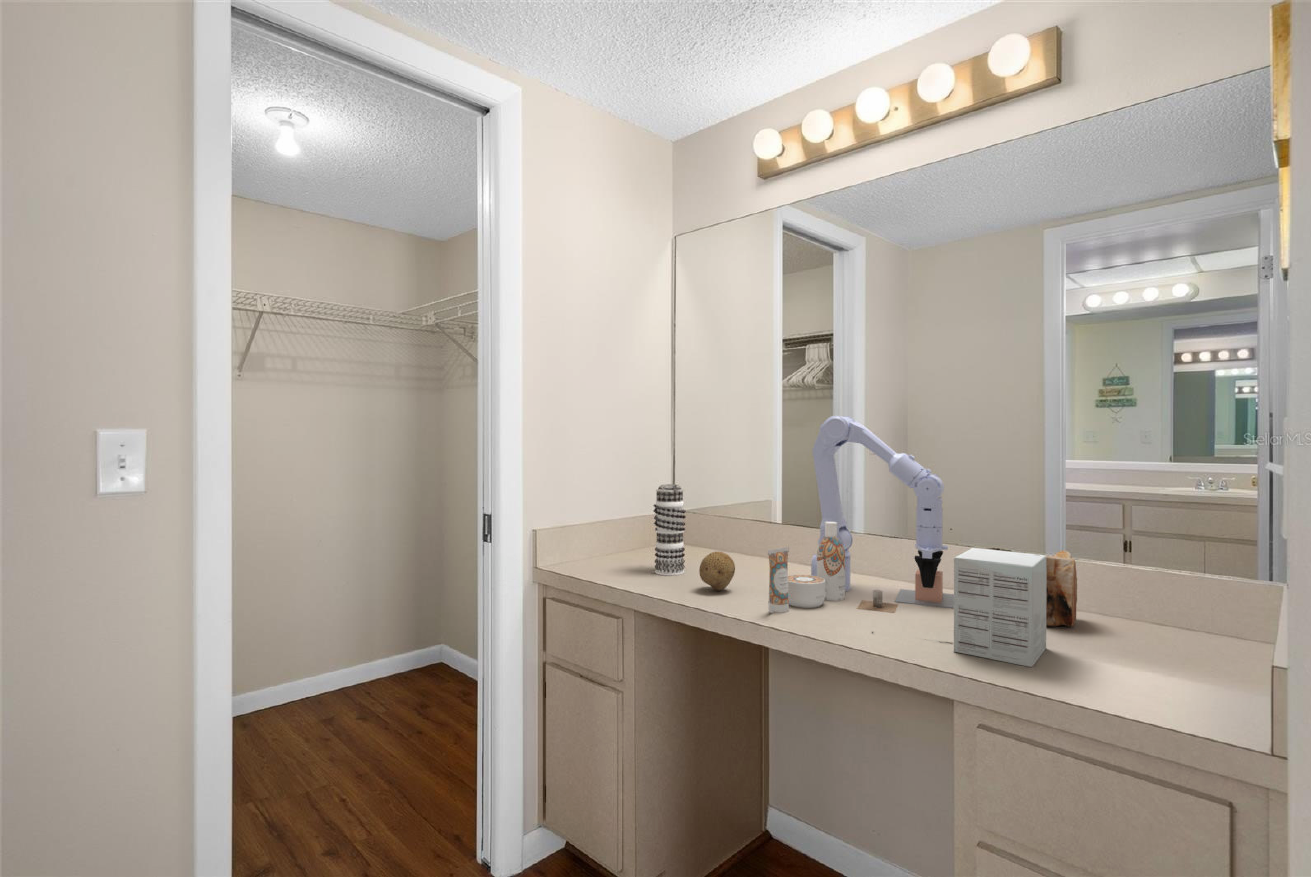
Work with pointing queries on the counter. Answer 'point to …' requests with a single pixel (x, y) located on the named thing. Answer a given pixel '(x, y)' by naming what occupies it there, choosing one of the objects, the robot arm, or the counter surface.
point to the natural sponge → (717, 570)
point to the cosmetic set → (808, 576)
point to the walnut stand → (877, 604)
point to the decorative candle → (669, 530)
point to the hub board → (909, 598)
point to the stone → (1061, 590)
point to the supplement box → (1000, 605)
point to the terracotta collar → (929, 593)
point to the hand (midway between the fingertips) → (929, 584)
